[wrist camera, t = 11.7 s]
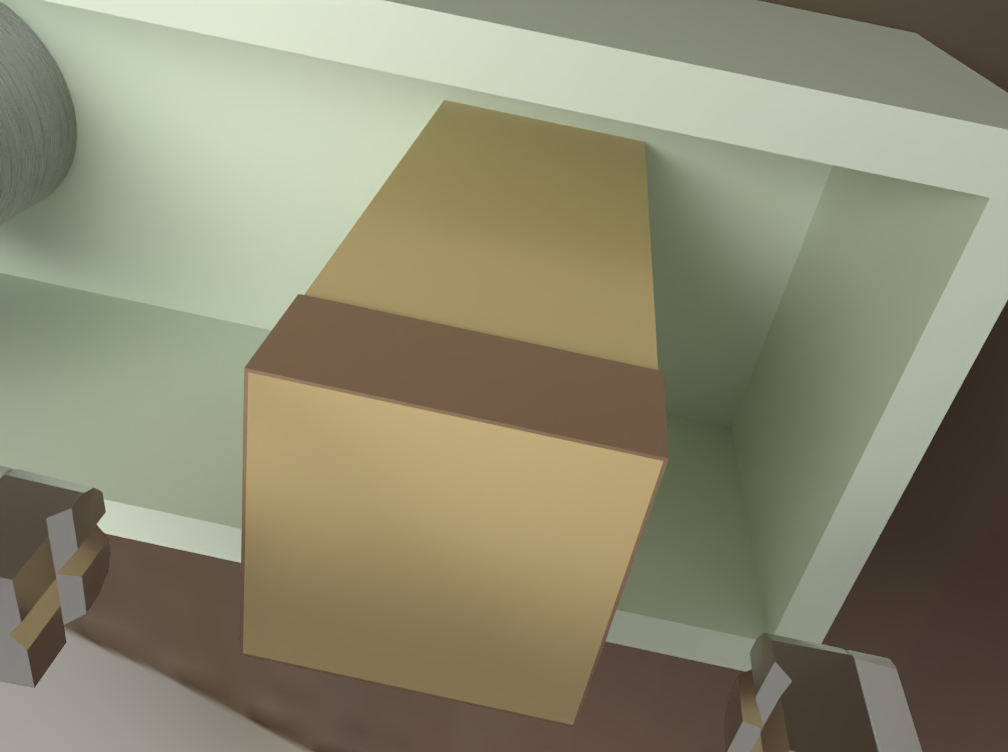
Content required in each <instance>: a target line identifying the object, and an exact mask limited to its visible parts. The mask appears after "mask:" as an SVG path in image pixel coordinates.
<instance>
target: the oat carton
mask: <svg viewBox="0 0 1008 752" xmlns="http://www.w3.org/2000/svg"><path fill="white" fill-rule="evenodd" d="M668 460H669V454H668V439H667V424H666V409H665V394H664V380H663V371H659V370H658V358H657V341H656V324H655V307H654V290H653V273H652V256H651V239H650V222H649V205H648V188H647V171H646V153H645V142H644V141H639V140H634V139H629V138H625V137H620V136H615V135H610V134H606V133H601V132H596V131H591V130H586V129H582V128H577V127H572V126H567V125H563V124H558V123H553V122H548V121H544V120H539V119H534V118H529V117H524V116H520V115H515V114H510V113H505V112H501V111H496V110H491V109H486V108H482V107H477V106H472V105H467V104H462V103H458V102H453V101H448V100H444V101H443V102H442V104H441V105H440V106H439V108H438V109H437V111H436V112H435V113H434V115H433V116H432V118H431V119H430V120H429V122H428V123H427V124H426V126H425V127H424V129H423V130H422V131H421V133H420V134H419V136H418V137H417V138H416V140H415V141H414V143H413V144H412V145H411V147H410V148H409V149H408V151H407V152H406V154H405V155H404V156H403V158H402V159H401V161H400V162H399V163H398V165H397V166H396V168H395V169H394V170H393V172H392V173H391V175H390V176H389V177H388V179H387V180H386V181H385V183H384V184H383V186H382V187H381V188H380V190H379V191H378V193H377V194H376V195H375V197H374V198H373V200H372V201H371V202H370V204H369V205H368V206H367V208H366V209H365V211H364V212H363V213H362V215H361V216H360V218H359V219H358V220H357V222H356V223H355V225H354V226H353V227H352V229H351V230H350V232H349V233H348V234H347V236H346V237H345V238H344V240H343V241H342V243H341V244H340V245H339V247H338V248H337V250H336V251H335V252H334V254H333V255H332V257H331V258H330V259H329V261H328V262H327V263H326V265H325V266H324V268H323V269H322V270H321V272H320V273H319V275H318V276H317V277H316V279H315V280H314V282H313V283H312V284H311V286H310V287H309V289H308V290H307V291H306V293H305V294H304V295H302V294H298V295H297V296H296V298H295V299H294V301H293V302H292V303H291V305H290V306H289V307H288V309H287V310H286V311H285V313H284V314H283V316H282V317H281V318H280V320H279V321H278V322H277V324H276V325H275V326H274V328H273V329H272V331H271V332H270V333H269V335H268V336H267V337H266V339H265V340H264V341H263V343H262V344H261V346H260V347H259V348H258V350H257V351H256V352H255V354H254V355H253V356H252V358H251V359H250V361H249V362H248V363H247V365H246V366H245V367H244V409H243V472H242V536H241V599H240V655H244V656H248V657H253V658H258V659H262V660H267V661H271V662H276V663H281V664H285V665H290V666H294V667H299V668H303V669H308V670H313V671H317V672H322V673H326V674H331V675H336V676H340V677H345V678H349V679H354V680H359V681H363V682H368V683H372V684H377V685H382V686H386V687H391V688H395V689H400V690H405V691H409V692H414V693H418V694H423V695H427V696H432V697H437V698H441V699H446V700H450V701H455V702H460V703H464V704H469V705H473V706H478V707H483V708H487V709H492V710H496V711H501V712H506V713H510V714H515V715H519V716H524V717H529V718H533V719H538V720H542V721H547V722H551V723H556V724H561V725H565V726H570V727H574V728H576V725H577V722H578V719H579V716H580V713H581V710H582V707H583V705H584V702H585V699H586V696H587V693H588V690H589V687H590V684H591V682H592V679H593V676H594V673H595V670H596V667H597V664H598V661H599V658H600V656H601V653H602V650H603V647H604V644H605V641H606V638H607V635H608V633H609V630H610V627H611V624H612V621H613V618H614V615H615V612H616V609H617V607H618V604H619V601H620V598H621V595H622V592H623V589H624V586H625V584H626V581H627V578H628V575H629V572H630V569H631V566H632V563H633V561H634V558H635V555H636V552H637V549H638V546H639V543H640V540H641V537H642V535H643V532H644V529H645V526H646V523H647V520H648V517H649V514H650V512H651V509H652V506H653V503H654V500H655V497H656V494H657V491H658V488H659V486H660V483H661V480H662V477H663V474H664V471H665V468H666V465H667V463H668Z"/></svg>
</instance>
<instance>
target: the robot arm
mask: <svg viewBox="0 0 1008 752" xmlns="http://www.w3.org/2000/svg"><path fill="white" fill-rule="evenodd" d="M105 513H106V510H105V504H104V498H103V492H102V491H100V490H98V489H96V488H94V487H89V486H85V485H81V484H77V483H73V482H69V481H65V480H61V479H57V478H53V477H48V476H44V475H40V474H36V473H32V472H28V471H24V470H20V469H13V468H9V467H4V466H0V681H2V682H7V683H12V684H17V685H22V686H28V687H33V688H34V687H35V686H36V685H37V683H38V682H39V680H40V679H41V678H42V676H43V675H44V673H45V672H46V670H47V669H48V668H49V666H50V665H51V663H52V662H53V661H54V659H55V658H56V656H57V655H58V653H59V652H60V651H61V649H62V648H63V646H64V645H65V643H66V638H65V630H64V624H66V623H68V622H70V621H72V620H74V619H76V618H78V617H80V616H82V615H84V614H86V613H87V612H88V610H89V608H90V607H91V605H92V604H93V602H94V601H95V599H96V598H97V596H98V595H99V593H100V590H101V588H102V585H103V583H104V580H105V577H106V575H107V572H108V567H109V559H110V545H109V538H108V537H107V536H106V535H105V534H104V532H103V531H102V530H101V529H100V528H99V527H98V525H97V523H98V522H99V521H100V519H101V518H102V517H103V515H104V514H105ZM750 659H751V667H752V669H751V670H749V671H747V672H745V673H743V674H741V675H739V676H738V677H737V679H736V681H735V683H734V686H733V688H732V690H731V692H730V695H729V700H728V705H727V710H726V715H725V745H726V752H923V751H922V748H921V745H920V742H919V739H918V736H917V732H916V729H915V726H914V723H913V720H912V717H911V713H910V710H909V707H908V704H907V701H906V698H905V694H904V691H903V688H902V685H901V682H900V679H899V676H898V672H897V669H896V666H895V665H894V664H893V663H892V662H891V660H890V659H889V658H884V657H879V656H875V655H870V654H865V653H860V652H855V651H851V650H843V649H842V648H837V647H832V646H827V645H822V644H818V643H813V642H808V641H803V640H798V639H793V638H789V637H784V636H779V635H774V634H769V633H763V634H762V635H760V636H759V637H758V638H757V639H756V641H755V643H754V645H753V647H752V649H751V651H750Z"/></svg>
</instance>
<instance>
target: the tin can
mask: <svg viewBox="0 0 1008 752" xmlns="http://www.w3.org/2000/svg"><path fill="white" fill-rule="evenodd" d="M76 142H77V123H76V116H75V110H74V106H73V102H72V98H71V95H70V92H69V89H68V86H67V84H66V81H65V79H64V76H63V75H62V73H61V71H60V69H59V67H58V65H57V63H56V61H55V60H54V58H53V56H52V55H51V53H50V52H49V50H48V49H47V47H46V46H45V45H44V43H43V42H42V41H41V40H40V38H39V37H38V36H37V34H36V33H35V32H34V31H33V30H32V29H31V28H30V27H29V26H28V25H27V24H26V23H25V22H24V21H23V20H22V18H20V17H19V16H18V15H17V14H16V13H15V12H13V11H12V10H11V9H10V8H9V7H7V6H6V5H5V4H3V3H2V2H0V225H2V224H3V223H5V222H7V221H8V220H10V219H12V218H13V217H15V216H17V215H18V214H20V213H22V212H23V211H25V210H26V209H28V208H30V207H31V206H33V205H35V204H36V203H38V202H40V201H41V200H43V199H44V198H46V197H47V196H49V195H50V194H51V193H53V192H54V191H55V190H56V189H57V188H58V187H59V186H60V185H61V183H62V182H63V180H64V179H65V177H66V176H67V174H68V172H69V169H70V167H71V165H72V162H73V158H74V155H75V150H76Z"/></svg>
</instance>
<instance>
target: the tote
mask: <svg viewBox="0 0 1008 752" xmlns="http://www.w3.org/2000/svg"><path fill="white" fill-rule="evenodd" d="M0 2H2V3H3V4H5V5H6V6H7V7H9V8H10V9H11V10H12V11H13V12H15V13H16V14H17V15H18V16H19V17H20V18H22V20H23V21H24V22H25V23H26V24H27V25H28V26H29V27H30V28H31V29H32V30H33V31H34V32H35V33H36V34H37V36H38V37H39V38H40V40H41V41H42V42H43V43H44V45H45V46H46V47H47V49H48V50H49V52H50V53H51V55H52V56H53V58H54V60H55V61H56V63H57V65H58V67H59V69H60V71H61V73H62V75H63V76H64V79H65V81H66V84H67V86H68V89H69V92H70V95H71V98H72V102H73V106H74V110H75V116H76V123H77V142H76V150H75V155H74V158H73V162H72V165H71V167H70V169H69V172H68V174H67V176H66V177H65V179H64V180H63V182H62V183H61V185H60V186H59V187H58V188H57V189H56V190H55V191H54V192H53V193H51V194H50V195H49V196H47V197H46V198H44V199H43V200H41V201H40V202H38V203H36V204H35V205H33V206H31V207H30V208H28V209H26V210H25V211H23V212H22V213H20V214H18V215H17V216H15V217H13V218H12V219H10V220H8V221H7V222H5V223H3V224H2V225H0V466H4V467H9V468H13V469H20V470H24V471H28V472H32V473H36V474H40V475H44V476H48V477H53V478H57V479H61V480H65V481H69V482H73V483H77V484H81V485H85V486H89V487H94V488H96V489H98V490H100V491H102V492H103V498H104V504H105V510H106V513H105V514H104V515H103V517H102V518H101V519H100V521H99V522H98V523H97V525H98V527H99V528H100V529H101V530H102V531H103V532H104V533H106V534H110V535H115V536H120V537H124V538H129V539H134V540H138V541H143V542H148V543H152V544H157V545H161V546H166V547H171V548H175V549H180V550H185V551H189V552H194V553H199V554H203V555H208V556H212V557H217V558H222V559H226V560H231V561H236V562H240V563H241V536H242V472H243V409H244V367H245V366H246V365H247V363H248V362H249V361H250V359H251V358H252V356H253V355H254V354H255V352H256V351H257V350H258V348H259V347H260V346H261V344H262V343H263V341H264V340H265V339H266V337H267V336H268V335H269V333H270V332H271V331H272V329H273V328H274V326H275V325H276V324H277V322H278V321H279V320H280V318H281V317H282V316H283V314H284V313H285V311H286V310H287V309H288V307H289V306H290V305H291V303H292V302H293V301H294V299H295V298H296V296H297V295H298V294H302V295H304V294H305V293H306V291H307V290H308V289H309V287H310V286H311V284H312V283H313V282H314V280H315V279H316V277H317V276H318V275H319V273H320V272H321V270H322V269H323V268H324V266H325V265H326V263H327V262H328V261H329V259H330V258H331V257H332V255H333V254H334V252H335V251H336V250H337V248H338V247H339V245H340V244H341V243H342V241H343V240H344V238H345V237H346V236H347V234H348V233H349V232H350V230H351V229H352V227H353V226H354V225H355V223H356V222H357V220H358V219H359V218H360V216H361V215H362V213H363V212H364V211H365V209H366V208H367V206H368V205H369V204H370V202H371V201H372V200H373V198H374V197H375V195H376V194H377V193H378V191H379V190H380V188H381V187H382V186H383V184H384V183H385V181H386V180H387V179H388V177H389V176H390V175H391V173H392V172H393V170H394V169H395V168H396V166H397V165H398V163H399V162H400V161H401V159H402V158H403V156H404V155H405V154H406V152H407V151H408V149H409V148H410V147H411V145H412V144H413V143H414V141H415V140H416V138H417V137H418V136H419V134H420V133H421V131H422V130H423V129H424V127H425V126H426V124H427V123H428V122H429V120H430V119H431V118H432V116H433V115H434V113H435V112H436V111H437V109H438V108H439V106H440V105H441V104H442V102H443V101H444V100H448V101H453V102H458V103H462V104H467V105H472V106H477V107H482V108H486V109H491V110H496V111H501V112H505V113H510V114H515V115H520V116H524V117H529V118H534V119H539V120H544V121H548V122H553V123H558V124H563V125H567V126H572V127H577V128H582V129H586V130H591V131H596V132H601V133H606V134H610V135H615V136H620V137H625V138H629V139H634V140H639V141H644V142H645V153H646V171H647V188H648V205H649V222H650V239H651V256H652V273H653V290H654V307H655V324H656V341H657V358H658V370H659V371H663V380H664V394H665V409H666V424H667V439H668V454H669V460H668V463H667V465H666V468H665V471H664V474H663V477H662V480H661V483H660V486H659V488H658V491H657V494H656V497H655V500H654V503H653V506H652V509H651V512H650V514H649V517H648V520H647V523H646V526H645V529H644V532H643V535H642V537H641V540H640V543H639V546H638V549H637V552H636V555H635V558H634V561H633V563H632V566H631V569H630V572H629V575H628V578H627V581H626V584H625V586H624V589H623V592H622V595H621V598H620V601H619V604H618V607H617V609H616V612H615V615H614V618H613V621H612V624H611V627H610V630H609V633H608V635H607V638H606V642H611V643H616V644H620V645H625V646H630V647H634V648H639V649H643V650H648V651H653V652H657V653H662V654H667V655H671V656H676V657H681V658H685V659H690V660H694V661H699V662H704V663H708V664H713V665H718V666H722V667H727V668H732V669H736V670H741V671H745V672H747V671H749V670H751V669H752V667H751V659H750V651H751V649H752V647H753V645H754V643H755V641H756V639H757V638H758V637H759V636H760V635H762V634H763V633H769V634H774V635H779V636H784V637H789V638H793V639H798V640H803V641H808V642H813V643H818V644H821V643H822V641H823V639H824V638H825V636H826V634H827V632H828V630H829V628H830V627H831V625H832V623H833V621H834V619H835V617H836V616H837V614H838V612H839V610H840V608H841V606H842V604H843V603H844V601H845V599H846V597H847V595H848V593H849V592H850V590H851V588H852V586H853V584H854V582H855V580H856V579H857V577H858V575H859V573H860V571H861V569H862V568H863V566H864V564H865V562H866V560H867V558H868V556H869V555H870V553H871V551H872V549H873V547H874V545H875V544H876V542H877V540H878V538H879V536H880V534H881V533H882V531H883V529H884V527H885V525H886V523H887V521H888V520H889V518H890V516H891V514H892V512H893V510H894V509H895V507H896V505H897V503H898V501H899V499H900V497H901V496H902V494H903V492H904V490H905V488H906V486H907V485H908V483H909V481H910V479H911V477H912V475H913V473H914V472H915V470H916V468H917V466H918V464H919V462H920V461H921V459H922V457H923V455H924V453H925V451H926V450H927V448H928V446H929V444H930V442H931V440H932V438H933V437H934V435H935V433H936V431H937V429H938V427H939V426H940V424H941V422H942V420H943V418H944V416H945V414H946V413H947V411H948V409H949V407H950V405H951V403H952V402H953V400H954V398H955V396H956V394H957V392H958V390H959V389H960V387H961V385H962V383H963V381H964V379H965V378H966V376H967V374H968V372H969V370H970V368H971V367H972V365H973V363H974V361H975V359H976V357H977V355H978V354H979V352H980V350H981V348H982V346H983V344H984V343H985V341H986V339H987V337H988V335H989V333H990V331H991V330H992V328H993V326H994V324H995V322H996V320H997V319H998V317H999V315H1000V313H1001V311H1002V309H1003V307H1004V306H1005V304H1006V302H1007V300H1008V93H1007V92H1006V91H1004V90H1002V89H1001V88H999V87H998V86H996V85H995V84H993V83H992V82H990V81H989V80H987V79H986V78H984V77H983V76H981V75H979V74H978V73H976V72H975V71H973V70H972V69H970V68H969V67H967V66H966V65H964V64H963V63H961V62H960V61H958V60H956V59H955V58H953V57H952V56H950V55H949V54H947V53H946V52H944V51H943V50H941V49H940V48H938V47H937V46H935V45H933V44H932V43H930V42H929V41H927V40H926V39H924V38H923V37H921V36H920V35H918V34H917V33H914V32H909V31H904V30H899V29H894V28H889V27H884V26H880V25H875V24H870V23H865V22H860V21H855V20H851V19H846V18H841V17H836V16H831V15H826V14H821V13H817V12H812V11H807V10H802V9H797V8H792V7H787V6H783V5H778V4H773V3H768V2H763V1H758V0H0Z"/></svg>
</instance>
